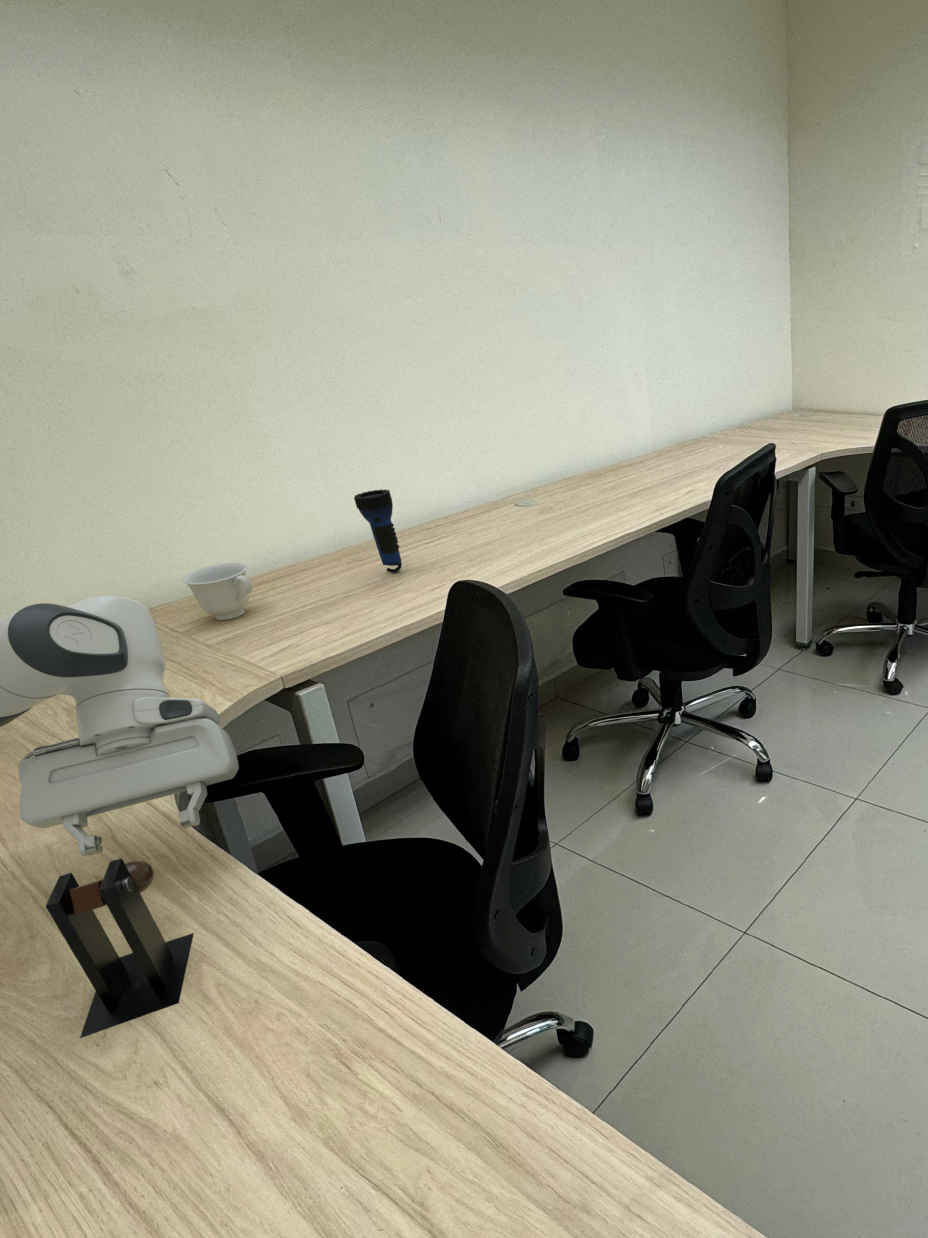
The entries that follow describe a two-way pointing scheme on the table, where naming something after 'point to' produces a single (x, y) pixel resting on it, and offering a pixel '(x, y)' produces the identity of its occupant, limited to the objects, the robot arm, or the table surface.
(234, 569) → the teacup
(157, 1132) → the table surface
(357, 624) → the table surface
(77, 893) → the lever
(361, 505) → the flashlight
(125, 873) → the bracket
